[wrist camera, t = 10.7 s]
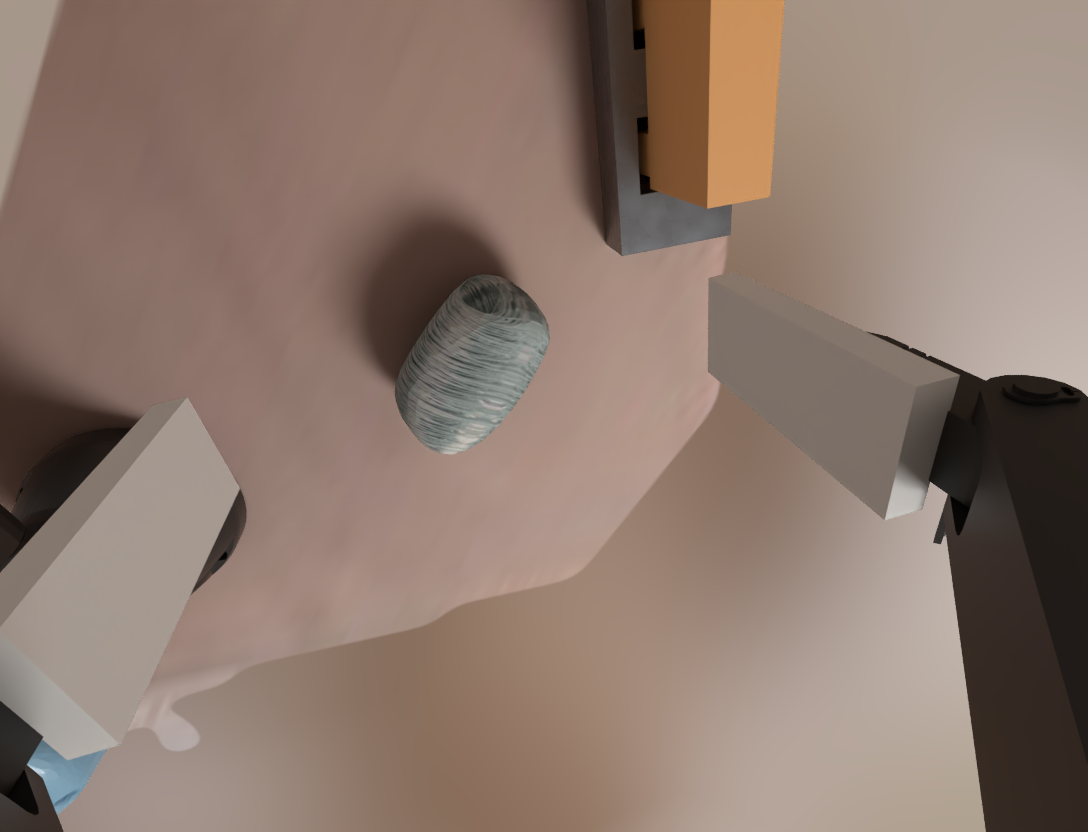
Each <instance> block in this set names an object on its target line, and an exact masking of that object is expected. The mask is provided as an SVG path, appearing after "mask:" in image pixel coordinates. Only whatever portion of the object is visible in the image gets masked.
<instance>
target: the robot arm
mask: <svg viewBox="0 0 1088 832" xmlns="http://www.w3.org/2000/svg"><path fill="white" fill-rule="evenodd" d="M708 372H709V373H710V374H711V375H713V376H714V377H715V378H716V379H717V380H719V381H720V382H721V383H722V384H723V385H724V386H726V387H727V388H728V389H729V390H730V391H732V392H733V393H734V394H735V395H736V396H738V397H739V398H740V399H741V400H742V401H743V402H745V403H746V404H747V405H748V406H749V407H751V408H752V409H753V410H754V411H756V412H757V413H758V414H759V415H760V416H761V417H763V418H764V419H765V420H766V421H767V422H769V423H770V424H771V425H772V426H773V427H775V428H776V429H777V430H778V431H779V432H780V433H782V434H783V435H784V436H785V437H786V438H788V439H789V440H790V441H791V442H793V444H795V445H796V446H797V447H798V448H800V449H801V450H802V451H803V452H804V453H805V454H807V455H808V456H809V457H810V458H811V459H813V460H814V461H815V462H816V463H817V464H819V465H820V466H821V467H822V468H823V469H824V470H826V471H827V472H828V473H829V474H830V475H832V476H833V477H834V478H835V479H836V480H838V481H839V482H840V483H841V484H842V485H844V486H845V487H846V488H847V489H848V490H850V491H851V492H852V493H853V494H854V495H855V496H857V497H858V498H859V499H860V500H861V501H862V502H864V503H865V504H866V505H867V506H868V507H870V508H871V509H872V510H873V511H874V512H876V513H877V514H878V515H879V516H881V517H882V518H883V519H884V520H887V519H891V518H894V517H897V516H900V515H904V514H908V513H911V512H914V511H918V510H921V509H922V508H923V505H924V501H925V498H926V494H927V491H928V487H929V484H930V482H932V483H933V484H934V485H936V486H937V487H939V488H940V489H942V490H943V491H945V492H946V493H947V494H948V496H947V499H946V502H945V505H944V509H943V512H942V515H941V518H940V522H939V525H938V528H937V531H936V534H935V538H934V543H937V544H941V542H942V539H943V536H945V535H946V537H947V544H948V552H949V559H950V566H951V574H952V582H953V589H954V597H955V604H956V611H957V619H958V627H959V634H960V641H961V648H962V656H963V664H964V671H965V679H966V686H967V694H968V701H969V708H970V716H971V724H972V730H973V738H974V746H975V753H976V760H977V768H978V775H979V783H980V791H981V798H982V806H983V813H984V821H985V828H986V832H1088V397H1087V396H1086V395H1085V394H1084V393H1083V392H1082V391H1080V390H1079V389H1076V388H1074V387H1072V386H1070V385H1068V384H1066V383H1063V382H1059V381H1055V380H1052V379H1048V378H1042V377H1035V376H1028V375H1004V376H999V377H994V378H990V379H989V380H987V381H985V380H983V379H981V378H979V377H976V376H974V375H972V374H970V373H967V372H965V371H963V370H961V369H959V368H956V367H954V366H952V365H950V364H947V363H945V362H943V361H941V360H938V359H936V358H934V357H932V356H928V357H927V356H926V354H925V353H923V352H921V351H918V350H916V349H914V348H910V349H909V346H907V345H905V344H903V343H901V342H899V341H896V340H894V339H892V338H890V337H888V336H883V335H879V334H874V333H870V332H865V331H863V330H861V329H859V328H857V327H854V326H852V325H850V324H848V323H846V322H844V321H841V320H839V319H837V318H835V317H833V316H830V315H828V314H826V313H824V312H822V311H820V310H817V309H815V308H813V307H811V306H809V305H807V304H804V303H802V302H800V301H798V300H796V299H794V298H791V297H789V296H787V295H785V294H783V293H781V292H778V291H776V290H774V289H772V288H769V287H767V286H765V285H763V284H761V283H759V282H757V281H755V280H752V279H750V278H748V277H746V276H744V275H742V274H739V273H737V272H733V273H728V274H724V275H719V276H715V277H711V278H709V302H708ZM245 523H246V505H245V501H244V497H243V495H242V492H241V490H240V488H239V486H238V484H237V482H236V481H235V479H234V477H233V475H232V474H231V472H230V470H229V468H228V467H227V465H226V463H225V462H224V460H223V458H222V456H221V455H220V453H219V451H218V449H217V448H216V446H215V444H214V443H213V441H212V439H211V437H210V436H209V434H208V432H207V430H206V429H205V427H204V425H203V424H202V422H201V420H200V418H199V417H198V415H197V413H196V411H195V410H194V408H193V406H192V404H191V403H190V401H189V399H188V398H187V397H186V398H181V399H177V400H172V401H168V402H164V403H159V404H155V405H153V406H152V407H151V408H150V409H149V410H148V411H147V412H146V413H145V414H144V415H143V417H142V418H141V419H140V420H139V421H138V422H137V423H136V424H135V425H134V426H133V427H132V429H104V430H97V431H92V432H88V433H84V434H81V435H78V436H75V437H73V438H71V439H69V440H67V441H65V442H63V443H61V444H60V445H58V446H57V447H56V448H54V449H53V450H52V451H51V452H50V453H49V454H47V455H46V456H45V457H44V458H43V459H42V460H41V461H40V462H38V463H37V464H36V465H35V466H34V467H33V468H32V469H31V470H30V472H29V473H28V474H27V476H26V477H25V479H24V480H23V482H22V484H21V486H20V489H19V492H18V495H17V498H16V504H15V506H14V508H13V510H12V512H11V513H10V512H9V511H8V510H7V509H5V508H4V507H3V506H2V505H1V504H0V832H63V829H62V826H61V824H60V821H59V819H58V816H57V814H59V813H60V812H61V811H62V810H64V809H65V808H66V807H67V806H68V805H70V804H71V803H72V802H73V801H74V800H75V799H76V797H77V796H78V795H79V794H80V793H81V791H82V790H83V789H84V787H85V786H86V784H87V782H88V780H89V779H90V777H91V775H92V773H93V772H94V770H95V768H96V766H97V765H98V764H99V762H100V760H101V759H102V757H103V755H104V754H105V752H106V750H107V749H108V748H111V747H115V746H118V745H121V743H122V740H123V738H124V736H125V734H126V732H127V730H128V728H129V726H130V723H131V721H132V719H133V717H134V715H135V713H136V711H137V708H138V706H139V704H140V702H141V700H142V698H143V696H144V693H145V691H146V689H147V687H148V685H149V683H150V681H151V678H152V676H153V674H154V672H155V670H156V668H157V665H158V663H159V661H160V659H161V657H162V655H163V653H164V650H165V648H166V646H167V644H168V642H169V640H170V638H171V635H172V633H173V631H174V629H175V627H176V625H177V623H178V620H179V618H180V616H181V614H182V612H183V610H184V608H185V605H186V603H187V601H188V599H189V597H190V595H191V594H192V593H194V592H195V591H196V590H197V589H198V588H199V587H200V586H201V585H202V584H203V583H204V582H206V581H207V580H208V579H209V578H210V577H211V576H212V575H213V574H214V573H215V572H216V571H217V570H218V569H220V568H221V567H222V566H223V565H224V564H225V563H226V561H227V560H228V559H229V557H230V556H231V555H232V553H233V551H234V550H235V548H236V545H237V543H238V541H239V539H240V537H241V535H242V532H243V530H244V527H245Z"/></svg>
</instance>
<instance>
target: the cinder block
mask: <svg viewBox="0 0 1088 832" xmlns="http://www.w3.org/2000/svg"><path fill="white" fill-rule="evenodd" d="M587 9H588V22H589V34H590V47H591V60H592V72H593V85H594V97H595V110H596V122H597V135H598V147H599V160H600V172H601V185H602V197H603V210H604V222H605V235H606V244H607V245H608V246H610V247H611V248H612V249H614V250H615V251H616V252H618V253H619V254H620V255H621V256H625V255H630V254H635V253H640V252H646V251H651V250H656V249H661V248H666V247H671V246H676V245H681V244H686V243H692V242H697V241H702V240H707V239H712V238H717V237H722V236H727V235H730V233H731V209H732V208H731V207H732V204H730V205H724V206H719V207H714V208H709V209H707V208H704V207H701V206H698V205H695V204H692V203H689V202H686V201H684V200H681V199H678V198H675V197H672V196H669V195H666V194H664V193H661V192H658V191H655V190H652V189H650V183H646V184H641V185H640V178H639V156H638V134H637V118H641V117H647V116H648V106H647V78H646V49H639V50H634V44H633V22H632V0H587Z"/></svg>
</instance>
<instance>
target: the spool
mask: <svg viewBox="0 0 1088 832" xmlns="http://www.w3.org/2000/svg"><path fill="white" fill-rule="evenodd" d="M549 339H550V335H549V329H548V324H547V322H546V319H545V317H544V315H543V314H542V312H541V310H540V309H539V308H538V306H537V305H536V303H535V302H534V301H533V300H532V299H531V298H530V297H529V295H528V294H527V293H526V292H524V291H523V290H522V289H521V288H519V287H518V286H516V285H515V284H514V283H512V282H510V281H508V280H507V279H505V278H502V277H500V276H496V275H489V274H481V275H476V276H473V277H471V278H469V279H467V280H465V281H464V282H463V283H462V284H461V285H460V286H459V287H457V288H456V289H455V290H454V291H453V292H452V293H451V294H450V295H449V297H448V298H447V299H446V301H445V302H444V303H443V305H442V306H441V307H440V308H439V310H438V311H437V312H436V314H435V315H434V316H433V318H432V319H431V321H430V322H429V323H428V325H427V326H426V328H425V329H424V331H423V332H422V333H421V335H420V337H419V338H418V340H417V341H416V343H415V345H414V346H413V348H412V349H411V351H410V352H409V354H408V356H407V358H406V360H405V363H404V364H403V366H402V367H401V370H400V373H399V376H398V378H397V380H396V387H395V398H396V402H397V405H398V409H399V411H400V414H401V416H402V418H403V420H404V421H405V423H406V424H407V425H408V427H409V428H410V430H411V431H412V433H413V434H414V435H415V436H416V437H417V438H418V440H419V441H420V442H421V443H422V444H424V445H425V446H426V447H427V448H429V449H431V450H433V451H435V452H438V453H442V454H455V453H458V452H463V451H464V450H466V449H469V448H471V447H473V446H474V445H476V444H477V443H479V442H480V441H482V440H483V439H485V438H486V437H487V436H488V435H489V434H490V433H491V432H492V431H493V430H494V429H495V428H496V427H498V425H499V424H500V423H501V422H502V421H503V419H504V418H505V417H506V416H507V415H508V414H509V412H510V411H511V410H512V409H513V407H514V406H515V404H516V403H517V402H518V400H519V399H520V397H521V396H522V394H523V393H524V391H525V390H526V388H527V387H528V385H529V383H530V381H531V380H532V378H533V376H534V374H535V373H536V371H537V369H538V367H539V365H540V363H541V361H542V359H543V357H544V355H545V353H546V350H547V347H548V343H549Z"/></svg>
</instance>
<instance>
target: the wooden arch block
mask: <svg viewBox="0 0 1088 832" xmlns="http://www.w3.org/2000/svg"><path fill="white" fill-rule="evenodd" d="M784 1H785V0H632V22H633V34H634V33H640V32H645V49H646V78H647V106H648V129H646V130H641V131H637V134H638V156H639V174H642V175H646V176H649V177H650V189H652V190H655V191H658V192H661V193H664V194H666V195H669V196H672V197H675V198H678V199H681V200H684V201H686V202H689V203H692V204H695V205H698V206H701V207H704V208H707V209H709V208H714V207H719V206H724V205H730V204H735V203H739V202H745V201H751V200H756V199H761V198H766V197H770V188H771V175H772V162H773V148H774V135H775V122H776V108H777V94H778V82H779V68H780V55H781V40H782V28H783V14H784Z"/></svg>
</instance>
